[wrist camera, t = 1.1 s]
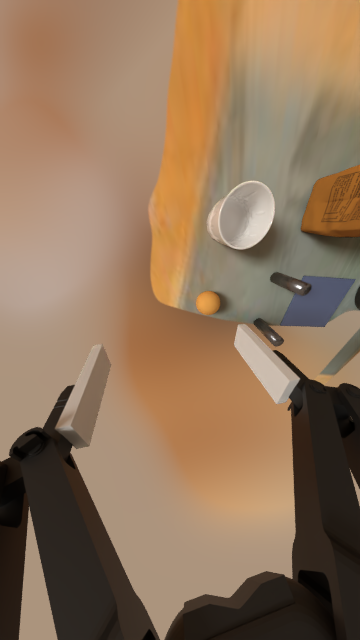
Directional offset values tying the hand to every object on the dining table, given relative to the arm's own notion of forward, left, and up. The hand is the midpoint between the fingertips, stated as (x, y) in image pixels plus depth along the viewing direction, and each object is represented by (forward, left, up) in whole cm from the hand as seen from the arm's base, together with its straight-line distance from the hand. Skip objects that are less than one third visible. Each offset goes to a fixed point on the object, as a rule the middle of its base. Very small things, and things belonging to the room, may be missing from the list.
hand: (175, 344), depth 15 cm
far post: (-25, +10, -23) cm, 35 cm away
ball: (-9, +4, -20) cm, 22 cm away
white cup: (-10, -12, -23) cm, 28 cm away
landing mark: (-39, +4, -23) cm, 45 cm away
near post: (-25, -2, -23) cm, 34 cm away
